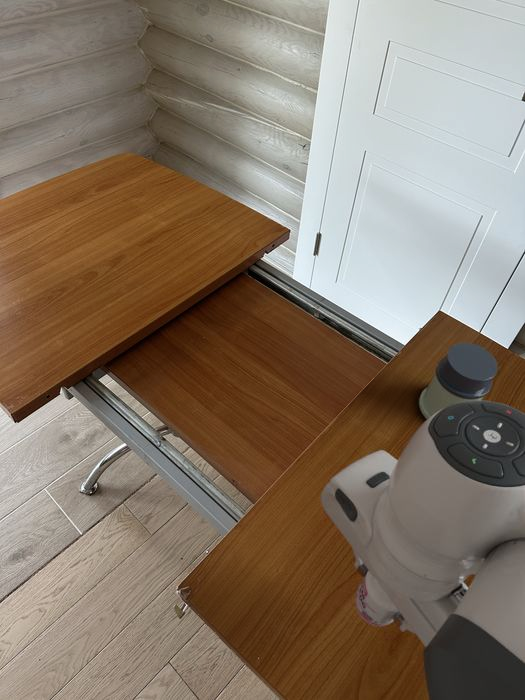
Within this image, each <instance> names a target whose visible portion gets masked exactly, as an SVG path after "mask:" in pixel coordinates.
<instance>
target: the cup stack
mask: <svg viewBox="0 0 525 700" xmlns="http://www.w3.org/2000/svg"><path fill="white" fill-rule="evenodd" d="M498 370H499V366H498V362H497V360H496V358H495V357H494V356H493V354H492V353H491V352H490V351H488V350H487V349H485V348H484V347H483V346H480V345H478V344H475V343H471V342H459V343H456V344H453V345H452V346H451V347H449V348H448V351H447V352H446V355H445V356H443V357H442V358H441V359H439V361H438V363H437V365H436V367H435V372H434V374H433V376H432V377H431V379H430V381H429V383H428V386H427V387H425V388H424V389H423V390H422V392H421V394H420V395H419V398H418V407H419V410H420V412H421V414H422V415H423V417H424V418H425V419H426V420H427V419H428V418H429V417H431V416H432V415H433V414H435V413H436V412H438V411H439V410H441V409H443V408H445V407H447V406H450V405H452V404H456V403H460V402H465V401H474V400H482V401H483V399H484V397H485V396H487V395H488V394H489V393H490V391H491V390H492V387H493V379H494V378H495V376H496V375H497V373H498Z"/></svg>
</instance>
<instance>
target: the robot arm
mask: <svg viewBox="0 0 525 700" xmlns="http://www.w3.org/2000/svg"><path fill="white" fill-rule="evenodd" d="M320 503H321V506H322V508H323V511H324V512H325V513H326V515H327V516H328V518H330V520H331V522H332V523H333V524H334V525H335V527H336V528H337V529H338V531H339V532H340V533H341V535H342V536H343V538H344V539H345V540H346V542H347V543H348V544H349V546H350V547H351V548H352V552H353V556H354V558H355V562H354V564H353V566H354V568H355V570H356V571H357V572H358V573H359V575H360V576H361V578H364V577H365V575H366V574H367V572H368V570H369V571H370V573H371V574H372V575H373V577H374V578H376V580H377V581H378V582H379V584H380V585H381V586H382V588H383V589H384V590H385V592H386V593H387V595H388V597H389V598H390V600H391V601H392V603H393V604H394V605H395V607H396V608H397V609H398V611H399V613H398V614H396V615H395V617H394V618H393V620H394V621H393V622H394V623H395V624H396V626H397V627H398V628H399V630H400V631H401V633H404V632H405V631H409V632H411V633H412V634H415V635H416V636H417V638H418V639H419V641H420V642H421V643H422V644H423V646H424V647H425V648H424V650H423V652H422V657H423V666H424V667H423V668H424V676H425V683H426V688H427V693H428V698H429V700H525V413H524V412H522V411H520V410H519V409H516V408H515V407H513V406H509V405H507V404H505V403H500V402H497V401H491V400H483V399H482V400H474V401H465V402H460V403H456V404H452V405H450V406H447V407H445V408H443V409H441V410H439V411H438V412H436V413H435V414H433V415H432V416H431V417H429V418H428V419H426V420H425V421H424V422H423V423H422V424H421V425H420V426H419V427H418V428H417V430H416V431H415V432H414V433H413V435H412V436H411V438H410V439H409V441H408V442H407V444H406V445H405V447H404V449H403V450H402V452H401V454H400V455H399V457H398V459H396V458H395V457H394V456H393V455H391V454H390V453H388V452H387V451H385V450H383V449H379V450H377V451H374V452H372V453H369V454H367V455H365V456H363V457H361V458H359V459H357V460H356V461H354V462H352V463H350V464H349V465H347V466H346V467H345V468H343V469H341V470H340V471H339V472H337V473H336V474H335V475H334V476H332V477H331V478H330V479H329V481H328V482H327V483H326V484H325V486H324V487H323V488H322V491H321V494H320ZM471 575H475V576H474V578H473V579H472V581H471V583H470V585H469V586H467V584H466V583H465V581H466V580H467V579H468V578H469V577H470V576H471Z"/></svg>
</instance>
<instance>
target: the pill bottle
mask: <svg viewBox="0 0 525 700" xmlns="http://www.w3.org/2000/svg"><path fill="white" fill-rule="evenodd" d="M354 598H355V599H354V602H355V607H356V610H357V612H358V615H360V617H361V618H362V620H364V621H365V622H367V623H368V624H369V625H372V626H374V627H385V626H389V625H390V624H391V623H393V622H395V621H394V620H393V618H394V617H395V615H396V614H398V613H399V611H398V609H397V608H396V607H395V605H394V604H393V603H392V601H391V600H390V598H389V597H388V595H387V593H386V592H385V590H384V589H383V588H382V586H381V585H380V584H379V582H378V581H377V580H376V578H374V577H373V575H372V574H371V573H370V571H369V570H368V572H367V574H366V575H365V577H363V579H362V581H361V582H360V584H359V585H358V587H357V589H356V592H355V596H354Z"/></svg>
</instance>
